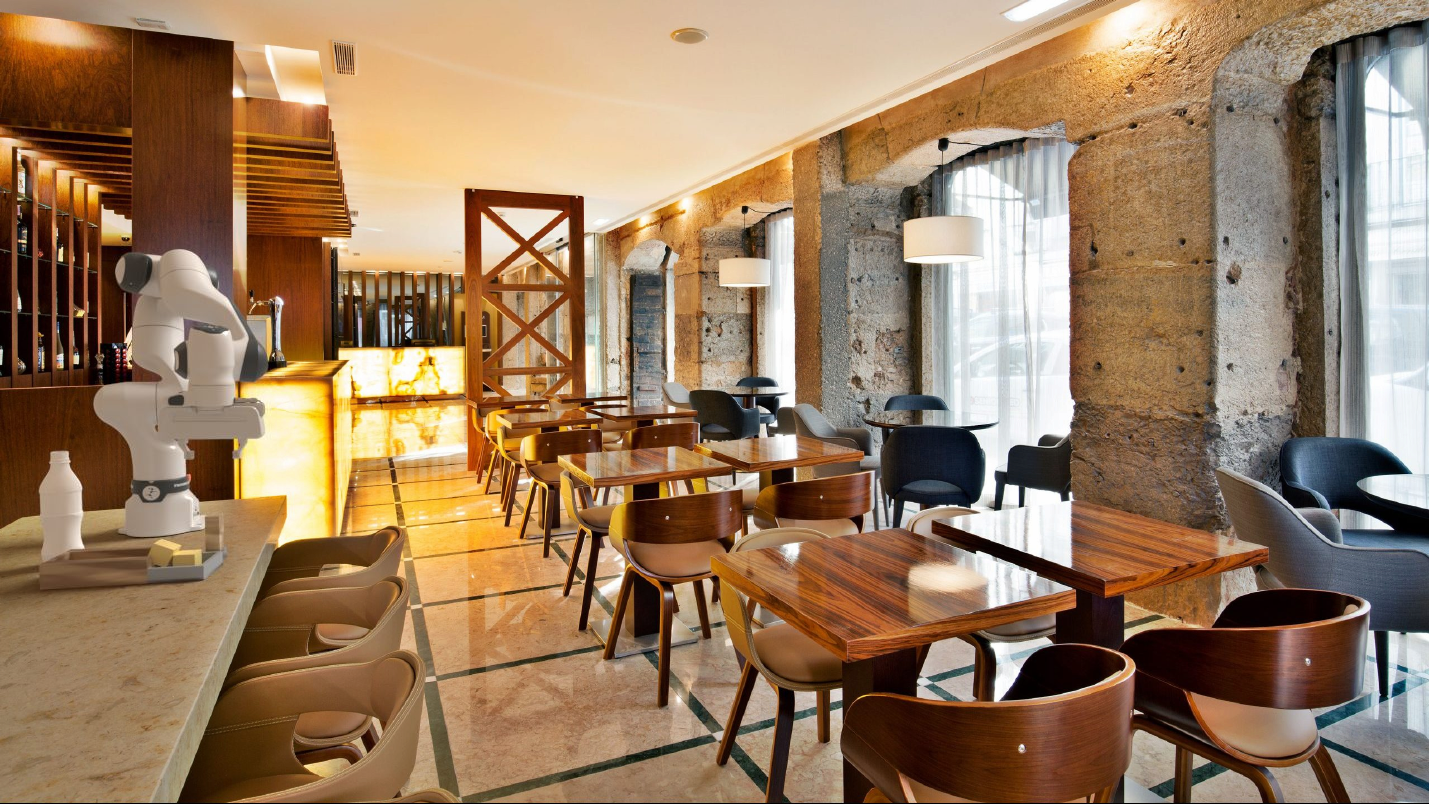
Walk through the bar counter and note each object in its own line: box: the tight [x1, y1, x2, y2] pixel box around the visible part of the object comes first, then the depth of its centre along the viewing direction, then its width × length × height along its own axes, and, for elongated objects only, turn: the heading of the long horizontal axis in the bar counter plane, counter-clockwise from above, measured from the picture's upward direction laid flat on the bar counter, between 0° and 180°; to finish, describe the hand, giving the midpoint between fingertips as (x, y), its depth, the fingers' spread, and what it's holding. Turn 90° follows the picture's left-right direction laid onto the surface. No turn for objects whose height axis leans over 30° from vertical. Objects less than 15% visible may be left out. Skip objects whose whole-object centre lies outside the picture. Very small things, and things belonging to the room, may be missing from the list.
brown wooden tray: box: [38, 545, 168, 591], centre depth 157 cm, size 12×18×5 cm, turn 107°
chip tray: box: [146, 551, 224, 584], centre depth 161 cm, size 12×10×3 cm
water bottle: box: [38, 450, 85, 563], centre depth 165 cm, size 7×7×25 cm
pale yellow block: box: [148, 538, 182, 567], centre depth 159 cm, size 4×4×4 cm
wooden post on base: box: [204, 513, 228, 561], centre depth 171 cm, size 6×3×10 cm, turn 17°
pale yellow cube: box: [173, 549, 203, 567], centre depth 161 cm, size 4×4×4 cm
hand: (213, 458), depth 170 cm, fingers open, 8 cm apart
